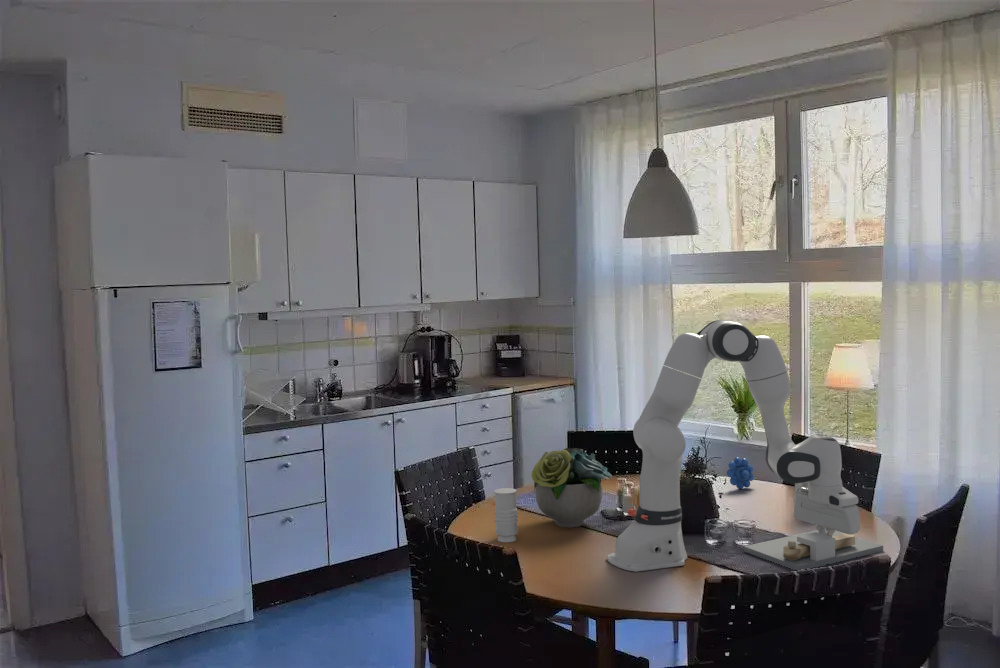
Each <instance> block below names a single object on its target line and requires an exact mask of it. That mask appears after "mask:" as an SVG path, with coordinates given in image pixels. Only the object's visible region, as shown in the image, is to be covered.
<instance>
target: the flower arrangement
mask: <svg viewBox="0 0 1000 668" xmlns="http://www.w3.org/2000/svg"><path fill="white" fill-rule="evenodd" d="M610 477H611V478H612V477H613V475H612V474H611V473H610V471H608V468H607V467H606V466H604V465H602V463H600V462H599V461H598V460H596V454H595V453H590V455H589V454H587V452H584V449H583V448H577V447H574V448H571V447H566V448H563V449H559V450H551V451H549V452H548V451H545V452H544V453H543V454H542V456H541V458H540V459H539V460H538V461H537V462H536V464H535V465H534V466H533V469H532V472H531V478H532V479H531V480H533V485H534V486H533V487H534V488H533V489H534V490H533V491H535V502H536V503H537V507H538V509H539V510H540V512H542V513H543V514H544V515H545V516H546V517H548V518H549V519H552V520H554V521H555V524H556V525H557V526H559V527H561V528H570V529H571V528H577V527H581V526H582V525H584V521H585V520H586V519H588V518H590V517H592V516H594V514H595V513H597V512H598V511H599V509H600V507H601V503H602V499H603V487H602V479H606V480H610Z"/></svg>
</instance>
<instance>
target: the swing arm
mask: <svg viewBox="0 0 1000 668" xmlns="http://www.w3.org/2000/svg"><path fill="white" fill-rule="evenodd" d="M832 537H833V538H835V549H838V548H843V547H847V546H851V545H855V537H856V536H855V535H854V534H850V535H849V534H846V533H844V534H841V535H837V536H832ZM809 555H810V546H808V545H805V544H802V543H801V544H797V545H796V547H795V548H790V547H788V546H784V547H783V557H784V558H787V559H792V560H796V559H800V558H801V557H804V556H809Z"/></svg>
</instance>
